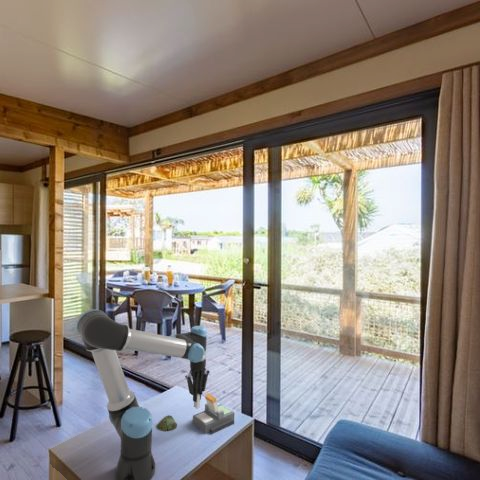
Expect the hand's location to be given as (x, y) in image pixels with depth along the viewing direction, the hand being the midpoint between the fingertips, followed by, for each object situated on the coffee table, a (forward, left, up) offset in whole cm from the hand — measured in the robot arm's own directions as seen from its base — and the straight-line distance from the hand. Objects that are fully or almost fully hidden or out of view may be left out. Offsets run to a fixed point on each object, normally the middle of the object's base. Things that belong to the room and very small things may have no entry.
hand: (196, 407), depth 161 cm
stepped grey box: (+11, 0, -11) cm, 16 cm away
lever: (+11, 0, -6) cm, 13 cm away
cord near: (+11, -7, -11) cm, 17 cm away
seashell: (-9, +12, -12) cm, 19 cm away
